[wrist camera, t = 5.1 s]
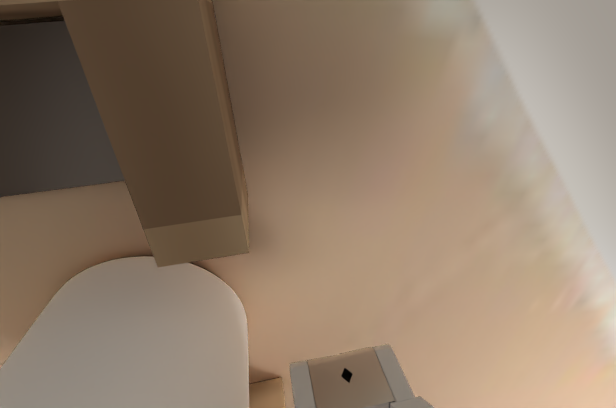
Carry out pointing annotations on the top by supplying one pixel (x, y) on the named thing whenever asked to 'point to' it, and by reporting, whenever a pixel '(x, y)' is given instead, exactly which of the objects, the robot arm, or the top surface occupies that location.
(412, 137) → the top surface
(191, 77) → the trap box
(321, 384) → the robot arm
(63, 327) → the can
